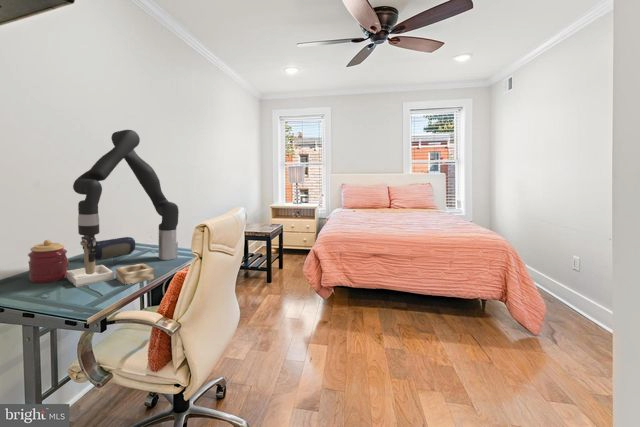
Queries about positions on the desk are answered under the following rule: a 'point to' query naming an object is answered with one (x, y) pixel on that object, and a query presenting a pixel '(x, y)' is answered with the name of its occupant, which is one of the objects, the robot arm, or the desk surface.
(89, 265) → the handle
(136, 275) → the socket block
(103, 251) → the portable speaker
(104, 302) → the desk surface
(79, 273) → the tray
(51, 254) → the canister
